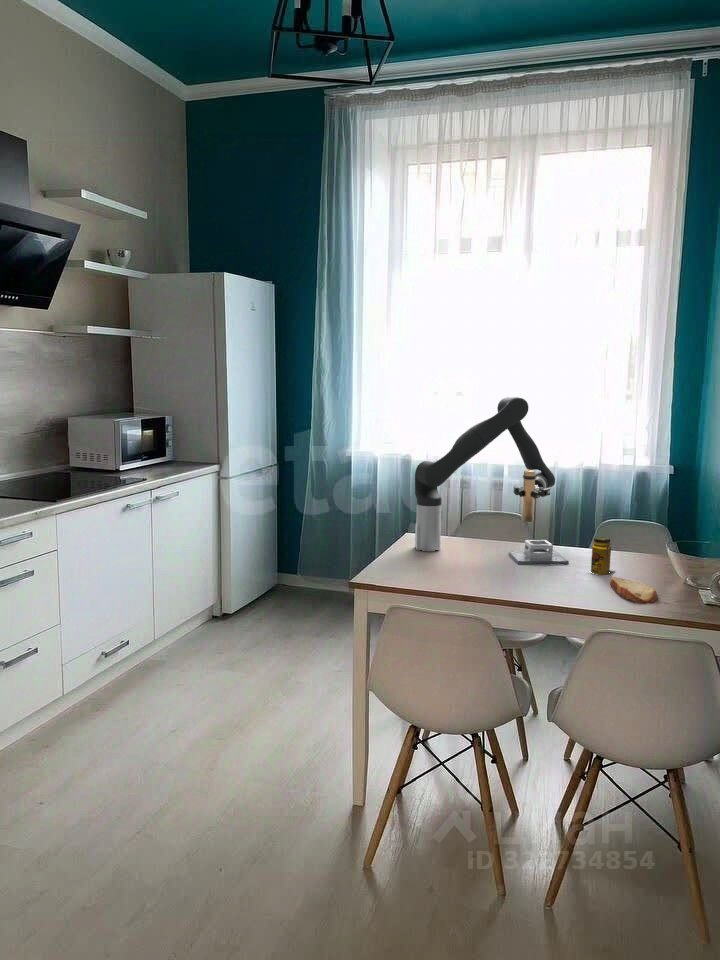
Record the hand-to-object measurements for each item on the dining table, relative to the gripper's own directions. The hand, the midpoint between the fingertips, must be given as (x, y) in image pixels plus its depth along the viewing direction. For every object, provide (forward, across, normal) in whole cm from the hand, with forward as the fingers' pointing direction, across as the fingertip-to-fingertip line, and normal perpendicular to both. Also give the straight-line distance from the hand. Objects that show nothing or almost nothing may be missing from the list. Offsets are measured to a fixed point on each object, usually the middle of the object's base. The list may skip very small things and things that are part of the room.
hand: (527, 494), depth 260 cm
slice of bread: (+26, +36, +24) cm, 51 cm away
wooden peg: (-3, 0, +10) cm, 10 cm away
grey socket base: (-3, +4, +24) cm, 25 cm away
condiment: (+5, +26, +24) cm, 36 cm away
